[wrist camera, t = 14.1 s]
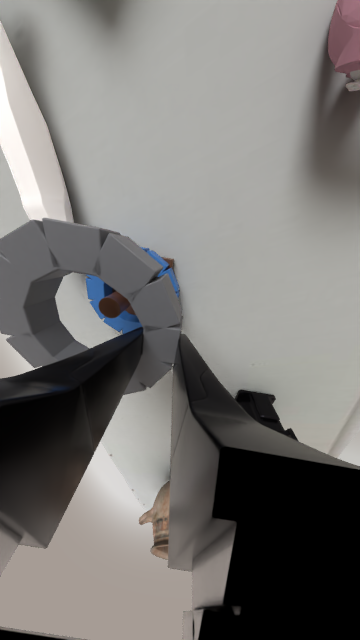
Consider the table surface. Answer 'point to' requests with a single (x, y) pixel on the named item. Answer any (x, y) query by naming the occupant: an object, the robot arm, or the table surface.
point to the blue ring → (101, 290)
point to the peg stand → (120, 300)
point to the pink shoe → (346, 41)
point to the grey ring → (92, 259)
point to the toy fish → (29, 143)
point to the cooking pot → (159, 522)
